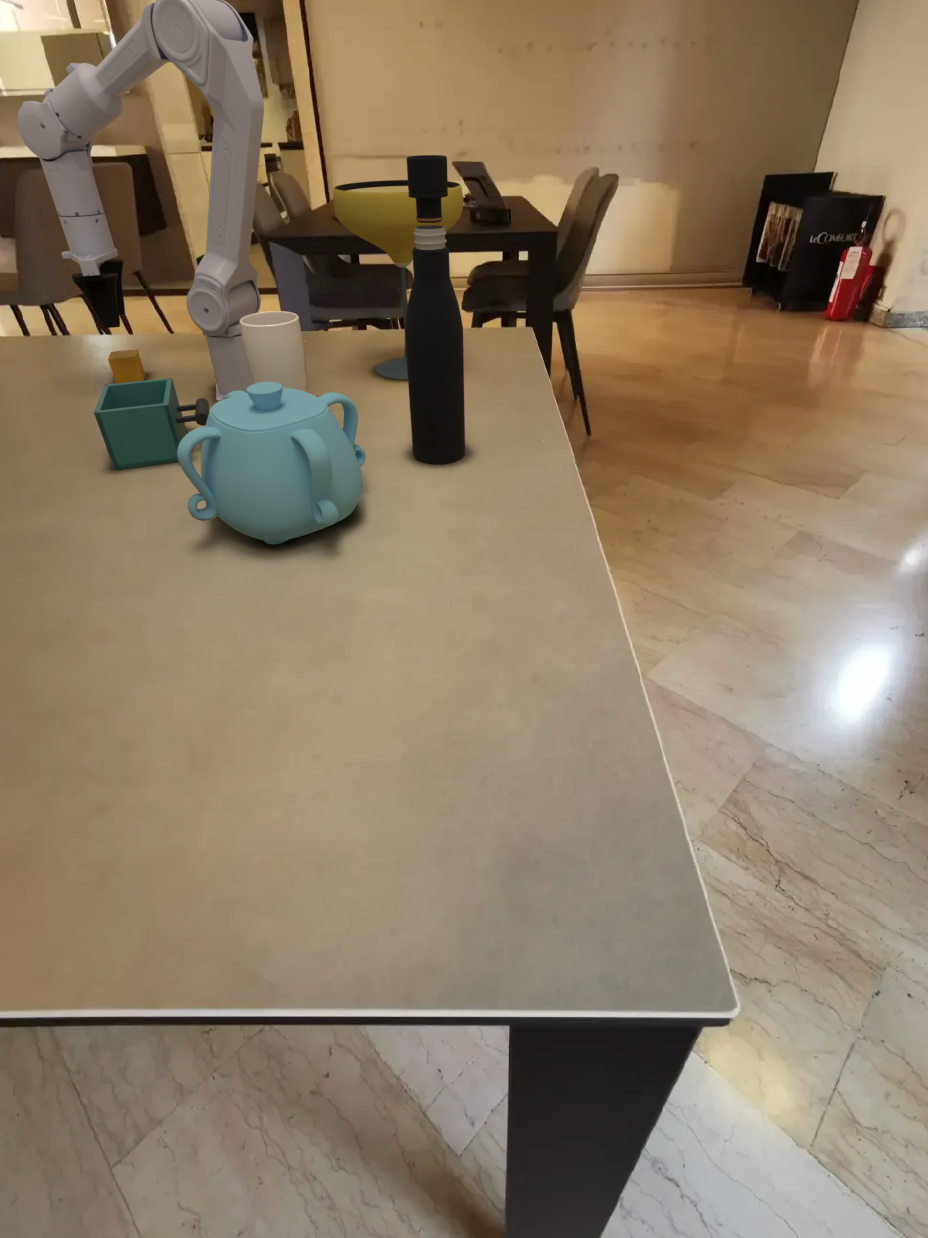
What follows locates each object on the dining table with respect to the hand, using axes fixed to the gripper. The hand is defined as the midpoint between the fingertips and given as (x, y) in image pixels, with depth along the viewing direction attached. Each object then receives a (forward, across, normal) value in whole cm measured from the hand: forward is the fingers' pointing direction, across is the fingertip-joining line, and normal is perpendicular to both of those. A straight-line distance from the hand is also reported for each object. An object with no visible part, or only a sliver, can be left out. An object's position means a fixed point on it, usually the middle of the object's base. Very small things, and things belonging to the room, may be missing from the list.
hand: (115, 320), depth 99 cm
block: (+9, -2, -1) cm, 10 cm away
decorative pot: (+9, +51, +19) cm, 55 cm away
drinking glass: (+9, +32, +21) cm, 40 cm away
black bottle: (+9, +41, +38) cm, 57 cm away
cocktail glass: (+9, +8, +42) cm, 44 cm away
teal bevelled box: (+9, +28, +6) cm, 30 cm away
